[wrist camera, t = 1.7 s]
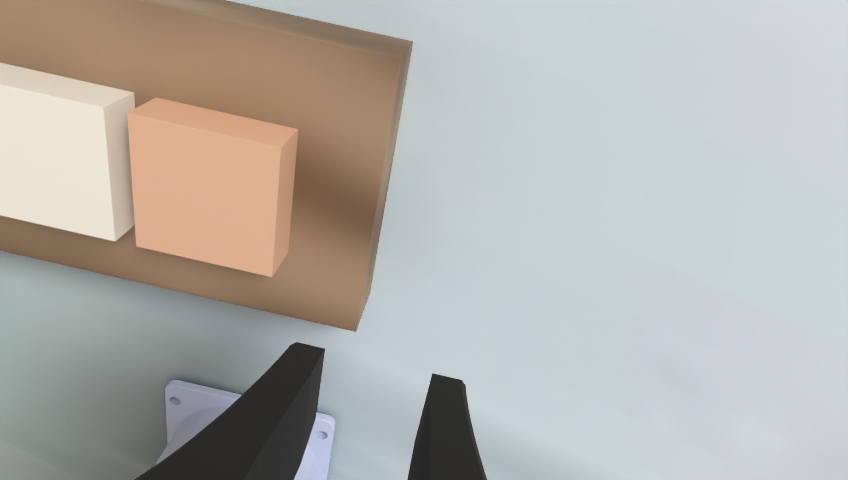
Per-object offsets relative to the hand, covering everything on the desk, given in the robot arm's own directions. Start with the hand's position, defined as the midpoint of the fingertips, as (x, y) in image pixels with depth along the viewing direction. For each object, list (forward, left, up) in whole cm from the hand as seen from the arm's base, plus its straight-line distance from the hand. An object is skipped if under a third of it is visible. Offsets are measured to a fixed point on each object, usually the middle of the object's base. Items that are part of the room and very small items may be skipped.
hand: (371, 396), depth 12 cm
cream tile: (0, +12, -8) cm, 14 cm away
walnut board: (0, +9, -10) cm, 14 cm away
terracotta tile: (0, +7, -8) cm, 10 cm away
